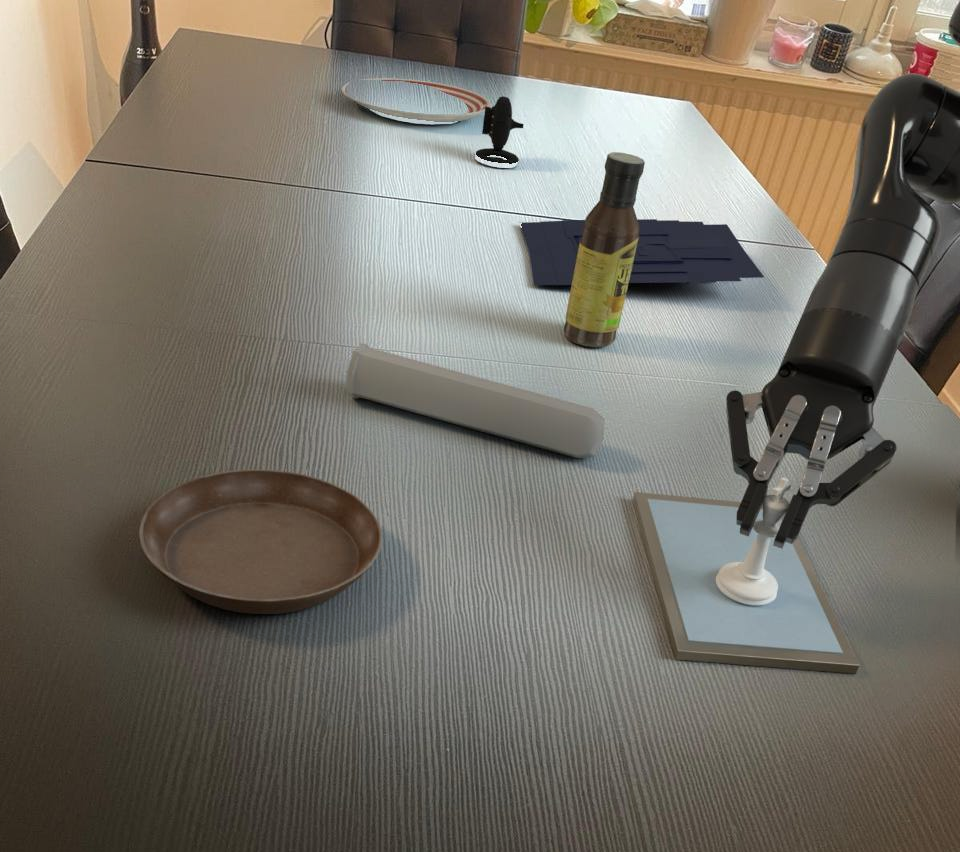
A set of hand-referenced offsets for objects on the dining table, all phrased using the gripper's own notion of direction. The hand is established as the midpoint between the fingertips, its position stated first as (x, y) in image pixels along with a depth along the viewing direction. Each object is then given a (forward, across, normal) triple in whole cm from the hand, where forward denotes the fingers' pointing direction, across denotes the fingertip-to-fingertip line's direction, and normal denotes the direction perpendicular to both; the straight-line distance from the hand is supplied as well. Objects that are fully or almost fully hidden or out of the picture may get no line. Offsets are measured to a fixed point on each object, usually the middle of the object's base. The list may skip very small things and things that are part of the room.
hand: (761, 538), depth 76 cm
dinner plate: (-76, -94, +87) cm, 149 cm away
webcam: (-64, -69, +75) cm, 120 cm away
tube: (-4, -30, +15) cm, 34 cm away
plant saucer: (+17, -33, -6) cm, 38 cm away
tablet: (+2, -1, +8) cm, 8 cm away
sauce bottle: (-24, -29, +35) cm, 51 cm away
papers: (-43, -34, +54) cm, 77 cm away
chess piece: (+3, 0, +6) cm, 6 cm away
